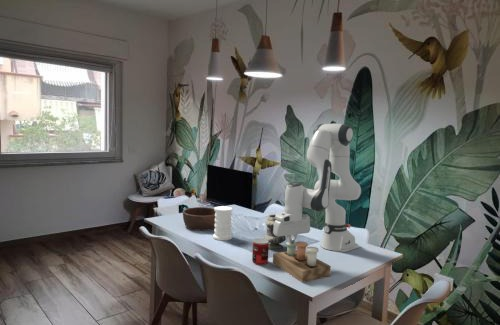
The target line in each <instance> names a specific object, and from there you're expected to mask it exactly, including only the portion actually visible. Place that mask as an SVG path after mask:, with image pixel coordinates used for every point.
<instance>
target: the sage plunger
mask: <svg viewBox="0 0 500 325" xmlns="http://www.w3.org/2000/svg"><path fill="white" fill-rule="evenodd" d="M296 242H297V241H295V243H291V244H289V243H288V241H285V246H286V248H287V249H286V251H287V255H288V256H295V250H296V247H297V246H296Z"/></svg>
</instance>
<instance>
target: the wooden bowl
mask: <svg viewBox="0 0 500 325" xmlns="http://www.w3.org/2000/svg"><path fill="white" fill-rule="evenodd" d="M214 208H215V207H208V206H207V207H205V206H197V207H196V206H195V207H189V208H185V209H184V210H182V217H183V223H184V225H185V227H186V228H188V229H190V230H194V231H209V230H213V229H215V226H214V225H215V211H214Z"/></svg>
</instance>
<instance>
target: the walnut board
mask: <svg viewBox="0 0 500 325" xmlns="http://www.w3.org/2000/svg"><path fill="white" fill-rule="evenodd" d="M307 256H308V252H305V260H298V259H297V249H295V256H288V255H287V250H286V251H281V252H276V253H275V252H274V253H273V254H272V264H273V265H275V266H276V267H278V268H279V269H281V270H282V271H283V272H285V271H286V272H285V273H286V274H288V273H289V274H288V275H290V276H291V275H292V276H291V277H293V278H295V279H296V280H298V281H299V282H300V283H306V282H312V281H316V280H319V279H325V278H328V277H330V276H331V269H332V268H331V267H332V266H331V265H330V264H328V263H326V262H323V261H322V260H320V259H318V258H317V257H316V266H309V265H307Z"/></svg>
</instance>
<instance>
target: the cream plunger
mask: <svg viewBox="0 0 500 325" xmlns="http://www.w3.org/2000/svg"><path fill="white" fill-rule="evenodd" d="M306 253H307V254H308V256H307V265H309V266H316V258H317V255H318V254H317V253H319V248H318V247H316V246H307V247H306Z"/></svg>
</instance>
